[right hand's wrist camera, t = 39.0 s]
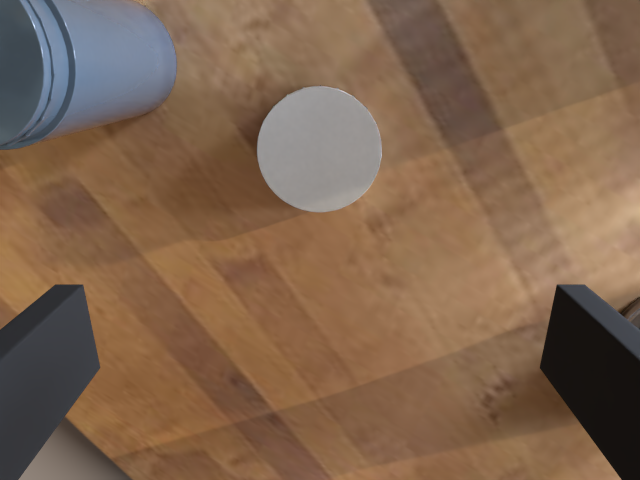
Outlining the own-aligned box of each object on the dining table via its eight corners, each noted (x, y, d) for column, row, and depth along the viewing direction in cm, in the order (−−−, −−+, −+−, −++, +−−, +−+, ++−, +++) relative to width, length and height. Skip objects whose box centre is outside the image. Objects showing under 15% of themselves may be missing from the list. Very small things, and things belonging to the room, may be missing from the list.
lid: (347, 223, 43) (348, 231, 41) (242, 177, 42) (237, 183, 39) (400, 118, 40) (404, 120, 37) (287, 63, 38) (285, 63, 36)
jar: (55, -10, 36) (-202, -85, 18) (174, 0, 36) (35, -64, 19) (69, 112, 40) (-137, 150, 22) (178, 121, 40) (64, 164, 22)
